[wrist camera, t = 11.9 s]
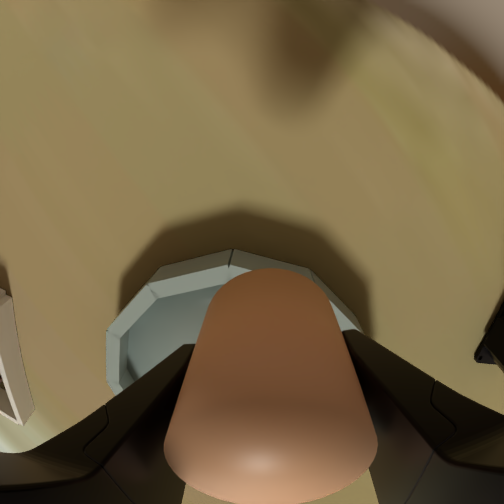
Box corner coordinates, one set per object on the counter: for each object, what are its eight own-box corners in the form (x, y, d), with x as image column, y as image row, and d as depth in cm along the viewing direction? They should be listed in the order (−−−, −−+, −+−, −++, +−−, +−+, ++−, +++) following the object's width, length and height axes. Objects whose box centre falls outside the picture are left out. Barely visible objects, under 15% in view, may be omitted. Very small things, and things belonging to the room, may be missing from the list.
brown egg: (334, 370, 10) (364, 494, 5) (218, 380, 10) (194, 505, 6) (332, 260, 9) (392, 377, 4) (193, 275, 9) (131, 397, 4)
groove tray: (399, 292, 20) (418, 315, 17) (307, 453, 25) (309, 479, 22) (130, 221, 19) (108, 236, 16) (118, 411, 24) (107, 435, 21)
